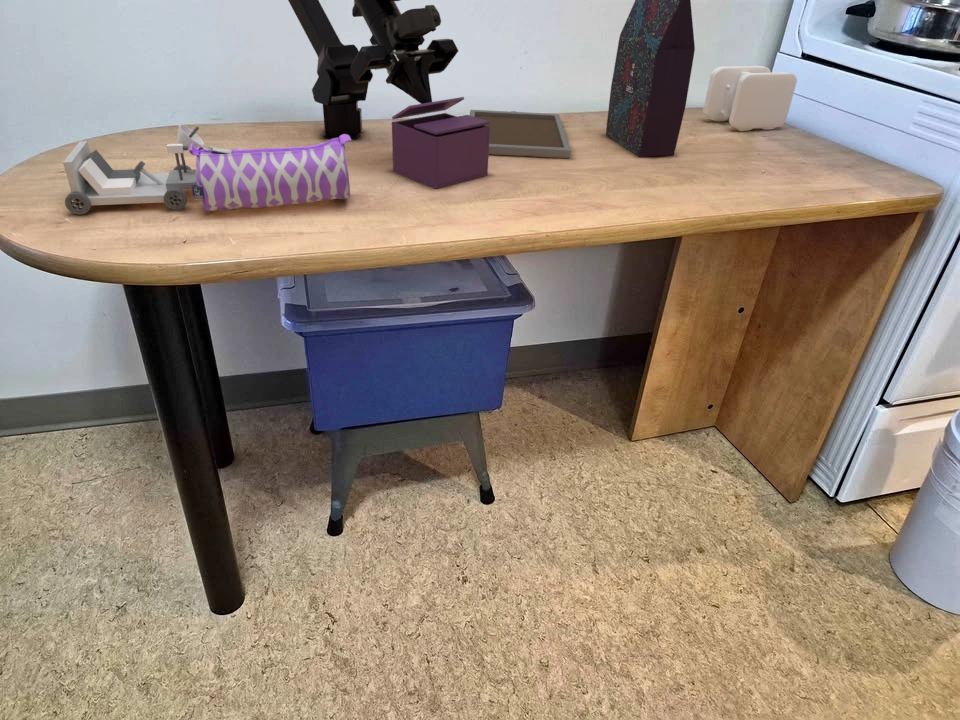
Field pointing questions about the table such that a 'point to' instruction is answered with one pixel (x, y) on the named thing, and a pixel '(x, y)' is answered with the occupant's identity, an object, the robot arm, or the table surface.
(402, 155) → the box
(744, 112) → the cable organizer
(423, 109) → the flap
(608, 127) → the decorative box
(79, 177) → the toy car
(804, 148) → the table surface
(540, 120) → the grey rectangular tray
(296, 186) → the pencil case
